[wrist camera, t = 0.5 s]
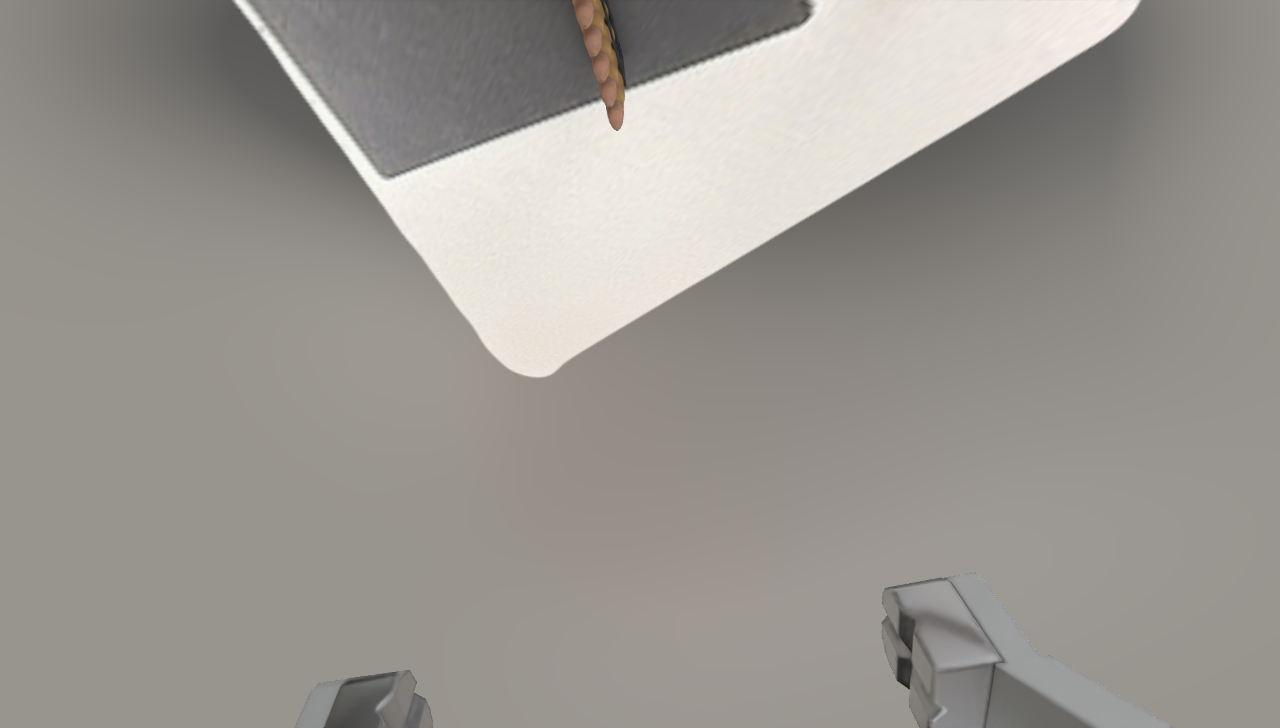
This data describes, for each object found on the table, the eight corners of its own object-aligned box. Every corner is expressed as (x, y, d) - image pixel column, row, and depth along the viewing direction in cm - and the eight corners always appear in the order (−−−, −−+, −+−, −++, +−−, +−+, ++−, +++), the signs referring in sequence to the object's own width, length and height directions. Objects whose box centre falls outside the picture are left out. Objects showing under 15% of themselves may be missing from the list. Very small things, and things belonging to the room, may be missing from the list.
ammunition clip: (557, -84, 43) (555, -16, 36) (582, -92, 43) (586, -26, 35) (601, 64, 51) (608, 145, 44) (623, 58, 51) (633, 138, 44)
